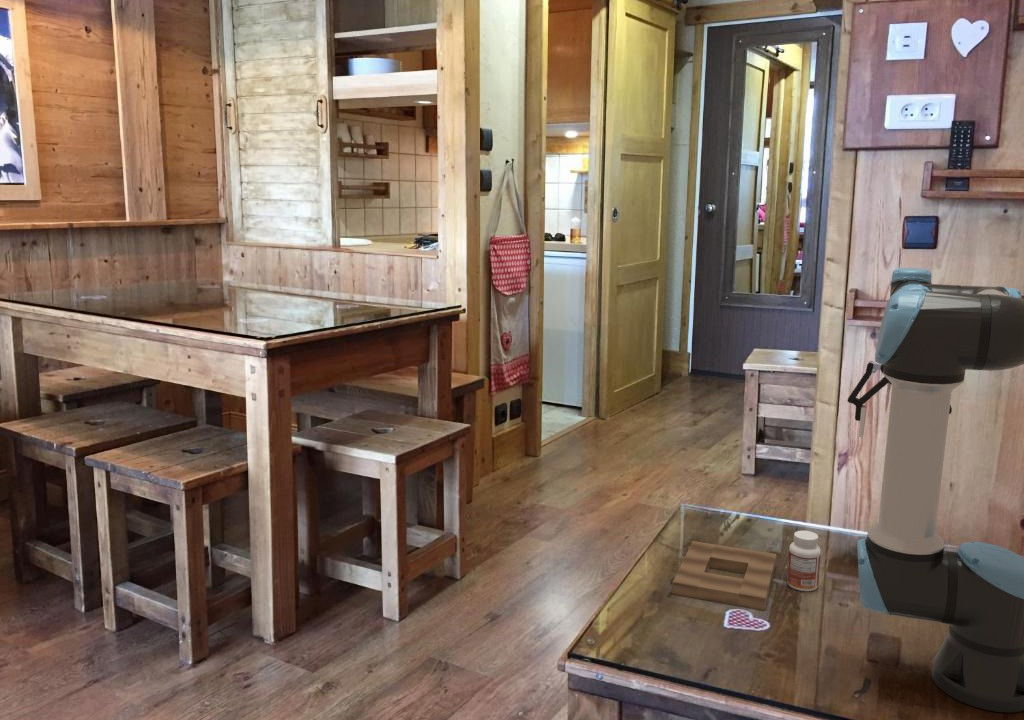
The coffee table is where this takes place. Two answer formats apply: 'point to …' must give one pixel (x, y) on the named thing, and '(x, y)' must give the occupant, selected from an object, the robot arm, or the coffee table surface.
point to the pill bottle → (804, 561)
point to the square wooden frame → (724, 588)
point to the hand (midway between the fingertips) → (895, 440)
